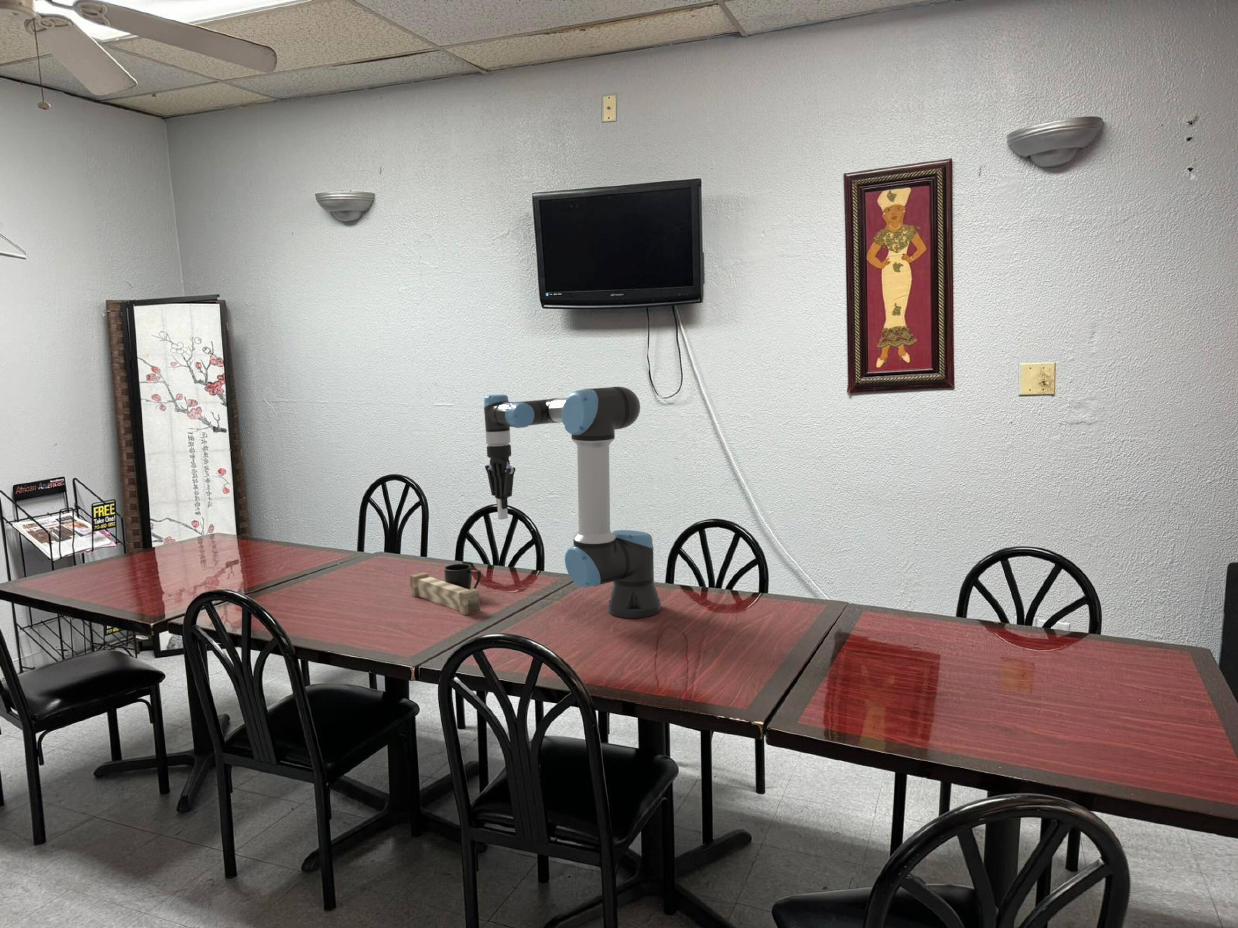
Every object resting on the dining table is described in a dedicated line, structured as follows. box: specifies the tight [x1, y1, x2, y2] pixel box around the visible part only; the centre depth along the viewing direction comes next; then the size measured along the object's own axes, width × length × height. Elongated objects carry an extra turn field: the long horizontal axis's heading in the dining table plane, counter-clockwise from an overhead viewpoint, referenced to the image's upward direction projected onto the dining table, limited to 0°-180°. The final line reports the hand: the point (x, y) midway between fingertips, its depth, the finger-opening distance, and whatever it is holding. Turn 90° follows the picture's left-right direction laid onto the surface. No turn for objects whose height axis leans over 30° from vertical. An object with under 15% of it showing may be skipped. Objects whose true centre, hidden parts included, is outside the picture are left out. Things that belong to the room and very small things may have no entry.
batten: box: [409, 571, 481, 616], centre depth 267 cm, size 30×5×6 cm, turn 44°
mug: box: [443, 563, 482, 590], centre depth 272 cm, size 8×12×10 cm
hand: (503, 518), depth 279 cm, fingers closed
